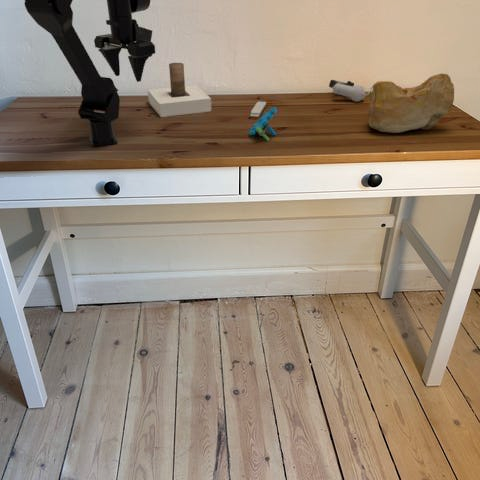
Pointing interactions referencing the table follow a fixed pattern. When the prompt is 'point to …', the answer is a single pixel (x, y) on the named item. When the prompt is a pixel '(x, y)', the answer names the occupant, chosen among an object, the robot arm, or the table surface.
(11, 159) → the table surface
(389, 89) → the rough brown rock
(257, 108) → the harmonica
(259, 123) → the gear
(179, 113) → the white board
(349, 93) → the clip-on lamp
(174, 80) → the walnut peg
